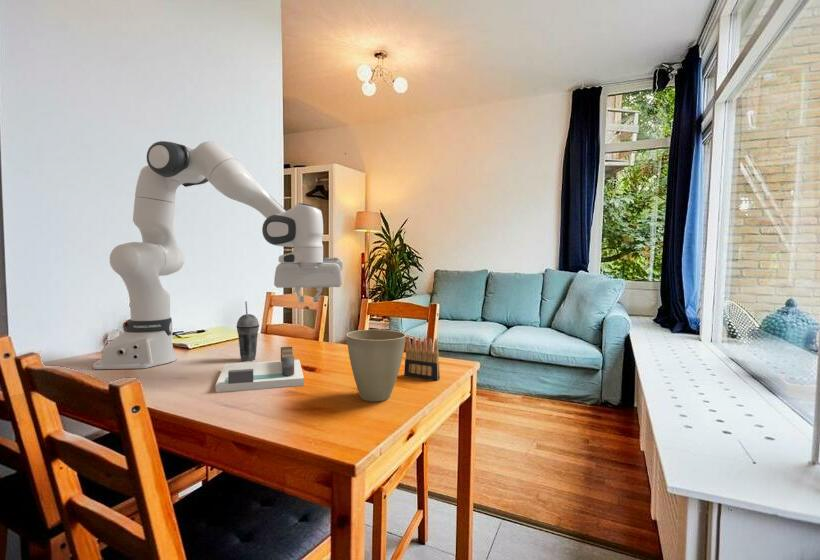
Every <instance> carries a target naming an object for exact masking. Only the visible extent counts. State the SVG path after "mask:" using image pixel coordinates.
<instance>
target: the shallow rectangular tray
mask: <svg viewBox="0 0 820 560" xmlns="http://www.w3.org/2000/svg"><path fill="white" fill-rule="evenodd" d="M302 386H305V376H304V374H303V370H302V365H301V362H300V359H294V374H293V375H288V376H285V375H282V361H281V360H270V361H267V360H266V361H250V362H238V363H237V362H236V363H225V364H224V366H223V368H222V370H221V371H220V374H219V376H218V378H217V381H216V383H215V393H227V392H240V391H251V390H262V389H263V390H264V389H275V388H289V387H302Z"/></svg>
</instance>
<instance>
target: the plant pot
mask: <svg viewBox="0 0 820 560" xmlns="http://www.w3.org/2000/svg"><path fill="white" fill-rule="evenodd" d="M346 342H347V349H348V351H347V352H348V357H349V361H350V366H351V371H352V375H353V377H354V382H355V385H356V388H357V391H358V395H359V396H360V399H362V400H364V401H367V402H372V403H373V402H374V403H375V402H384V401H387V400H388V399H390V398H391V395H392V393H393V390H394V388H395V385H396V382H397V379H398V376H399V372H400V369H401V365H402V361H403V357H404V351H405V348H406V347H405V345H406V342H407V334H406V333H405V332H402V331H397V330H391V329H389V330H388V329H360V330H353V331H350V332H347V333H346Z"/></svg>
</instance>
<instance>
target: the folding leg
mask: <svg viewBox="0 0 820 560" xmlns="http://www.w3.org/2000/svg"><path fill="white" fill-rule="evenodd" d="M293 353H294V352H293V347H292V346H281V347H280V361H282V375H285V376H288V375H293V374H294V360H295V356H294V354H293Z"/></svg>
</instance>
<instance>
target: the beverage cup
mask: <svg viewBox="0 0 820 560" xmlns="http://www.w3.org/2000/svg"><path fill="white" fill-rule="evenodd" d="M244 303H245V304H244V305H245V314H243V315H241V316H240V317H238V318H239V319H238V320H237V322H236V331H237V335H238V337H237V338H238V345H239V356H240V361H241V362H243V361H250V362H254V361H256V357H257V356H256V355H257V344H258V333H259V328H260V323H259V322H260V321H259V320H258V318H257V317H256V316H255V315H254V314H250V313H248V301H245V302H244ZM253 360H254V361H253Z"/></svg>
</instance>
